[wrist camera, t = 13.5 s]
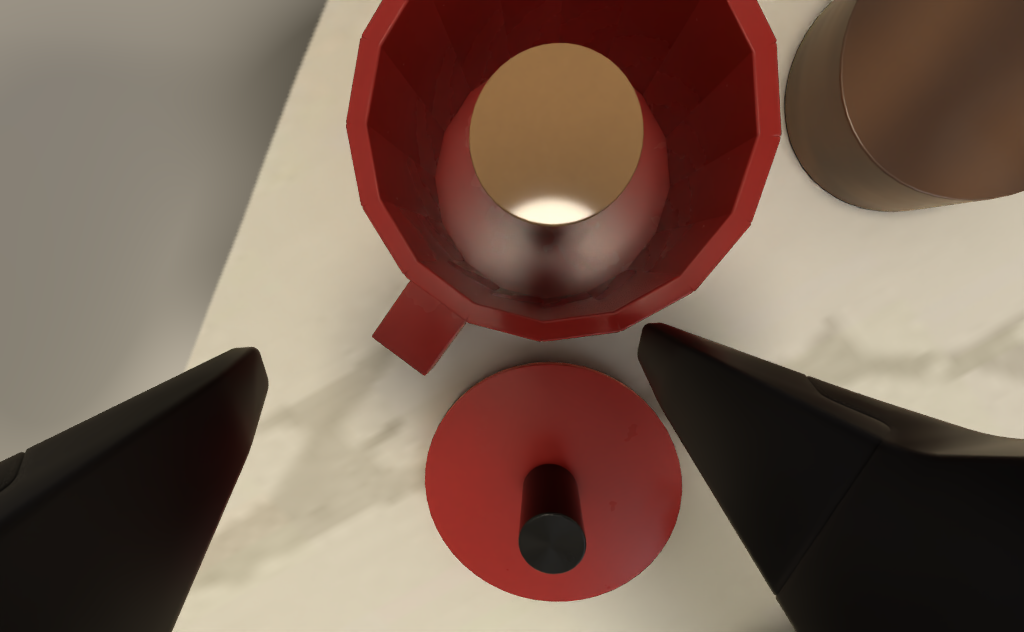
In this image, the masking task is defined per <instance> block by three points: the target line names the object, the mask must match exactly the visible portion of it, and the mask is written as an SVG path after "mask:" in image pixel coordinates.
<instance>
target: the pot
mask: <svg viewBox="0 0 1024 632" xmlns="http://www.w3.org/2000/svg"><path fill="white" fill-rule="evenodd" d="M550 43H570V44H576V45H580V46H584V47H587V48H590V49H592V50H594V51H596V52H598V53H600V54H602V55H603V56H605V57H606V58H608V59H609V60H611V61H612V62H613V63H614V64H615V65H616V66H617V67H619V69H620V70H621V71H622V72H623V73H624V74H625V76H626V77H627V78H628V80H629V82H630V83H631V85H632V86H633V88H634V90H635V93H636V95H637V97H638V100H639V103H640V106H641V110H642V116H643V122H644V139H643V148H642V152H641V157H640V160H639V163H638V166H637V169H636V171H635V173H634V175H633V177H632V179H631V181H630V182H629V184H628V185H627V187H626V188H625V190H624V191H623V192H622V193H621V195H620V196H619V197H618V198H617V199H616V200H615V201H614V202H613V203H612V204H611V205H610V206H609V207H607V208H606V209H605V210H604V211H602V212H601V213H600V214H598V215H597V216H595V217H594V218H592V219H590V220H588V221H587V222H586V223H585V224H584V225H583V226H581V227H580V228H578V229H577V230H575V231H573V232H571V233H569V234H566V235H562V236H558V237H541V236H536V235H533V234H530V233H528V232H526V231H524V230H522V229H521V228H519V227H518V226H517V225H515V224H514V223H513V222H512V221H511V220H510V218H509V217H508V216H507V215H506V213H505V212H503V211H502V210H501V209H500V208H499V207H498V206H497V205H496V204H495V203H494V202H493V201H492V199H491V198H490V197H489V196H488V195H487V193H486V192H485V190H484V189H483V187H482V186H481V184H480V182H479V180H478V178H477V176H476V173H475V170H474V168H473V165H472V160H471V156H470V149H469V128H470V121H471V116H472V113H473V109H474V106H475V103H476V101H477V99H478V96H479V94H480V93H481V91H482V89H483V87H484V86H485V84H486V83H487V81H488V80H489V79H490V77H491V76H492V75H493V74H494V73H495V72H496V71H497V70H498V69H499V68H500V67H501V66H502V65H503V64H504V63H505V62H507V61H508V60H509V59H510V58H512V57H514V56H515V55H517V54H519V53H520V52H523V51H525V50H527V49H530V48H532V47H536V46H539V45H543V44H550ZM346 123H347V124H346V128H347V133H348V139H349V144H350V149H351V154H352V160H353V165H354V170H355V175H356V181H357V186H358V191H359V196H360V202H361V206H362V207H363V210H364V211H365V213H366V215H367V216H368V218H369V220H370V221H371V223H372V224H373V226H374V228H375V229H376V231H377V233H378V234H379V236H380V237H381V239H382V241H383V242H384V244H385V245H386V247H387V249H388V250H389V252H390V254H391V255H392V257H393V258H394V260H395V262H396V263H397V265H398V267H399V268H400V270H401V271H402V273H403V274H405V276H406V277H407V278H408V279H409V280H410V282H409V283H408V284H407V286H406V287H405V289H404V290H403V292H402V293H401V295H400V296H399V297H398V299H397V300H396V302H395V303H394V305H393V306H392V308H391V309H390V310H389V312H388V313H387V315H386V316H385V318H384V319H383V321H382V322H381V324H380V325H379V326H378V328H377V329H376V331H375V332H374V334H373V335H372V337H373V338H374V339H375V340H377V341H378V342H379V343H381V344H382V345H383V346H385V347H386V348H387V349H389V350H390V351H392V352H393V353H394V354H396V355H397V356H398V357H400V358H401V359H402V360H404V361H405V362H406V363H408V364H409V365H410V366H412V367H413V368H414V369H416V370H417V371H418V372H420V373H421V374H422V375H424V376H425V375H426V374H427V373H429V372H430V371H431V370H432V369H433V367H434V366H435V365H436V363H437V362H438V361H439V359H440V358H441V356H442V355H443V354H444V352H445V351H446V350H447V348H448V347H449V346H450V344H451V343H452V342H453V340H454V339H455V337H456V336H457V335H458V333H459V332H460V331H461V329H462V328H463V327H464V325H465V324H466V322H468V323H471V324H474V325H478V326H482V327H486V328H489V329H493V330H497V331H501V332H505V333H508V334H512V335H516V336H520V337H523V338H527V339H531V340H535V341H539V342H541V341H543V342H546V341H554V340H562V339H570V338H578V337H586V336H594V335H602V334H610V333H617V332H620V331H624V330H625V329H627V328H629V327H631V326H633V325H634V324H636V323H638V322H640V321H642V320H644V319H645V318H647V317H649V316H651V315H653V314H654V313H656V312H658V311H660V310H662V309H664V308H665V307H667V306H669V305H671V304H673V303H675V302H676V301H678V300H680V299H682V298H684V297H685V296H687V295H689V294H691V293H692V292H693V291H696V289H697V288H698V287H699V286H700V285H701V283H702V282H703V281H704V280H705V279H706V278H707V276H708V275H709V274H710V273H711V272H712V270H713V269H714V268H715V267H716V266H717V264H718V263H719V262H720V261H721V260H722V259H723V257H724V256H725V255H726V254H727V253H728V251H729V250H730V249H731V248H732V247H733V245H734V244H735V243H736V242H737V241H738V240H739V238H740V237H741V236H742V235H743V234H744V232H745V231H746V230H747V229H748V228H749V226H750V225H751V222H752V220H753V217H754V214H755V211H756V208H757V206H758V203H759V200H760V197H761V194H762V191H763V188H764V185H765V182H766V179H767V176H768V174H769V171H770V168H771V165H772V162H773V159H774V156H775V153H776V150H777V147H778V144H779V142H780V137H779V136H780V135H781V118H780V99H779V79H778V60H777V44H776V38H775V36H774V34H773V32H772V30H771V28H770V26H769V24H768V22H767V20H766V18H765V16H764V14H763V12H762V10H761V8H760V6H759V4H758V2H757V0H382V2H381V3H380V5H379V7H378V8H377V10H376V12H375V14H374V15H373V17H372V19H371V20H370V22H369V24H368V25H367V27H366V29H365V30H364V32H363V34H362V38H361V39H360V44H359V50H358V56H357V62H356V67H355V73H354V79H353V85H352V91H351V97H350V102H349V108H348V114H347V120H346Z"/></svg>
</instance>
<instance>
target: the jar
mask: <svg viewBox="0 0 1024 632" xmlns="http://www.w3.org/2000/svg"><path fill="white" fill-rule="evenodd" d="M643 139H644V122H643V116H642V110H641V106H640V103H639V100H638V97H637V95H636V93H635V90H634V88H633V86H632V85H631V83H630V82H629V80H628V78H627V77H626V76H625V74H624V73H623V72H622V71H621V70H620V69H619V67H617V66H616V65H615V64H614V63H613V62H612V61H611V60H609V59H608V58H606V57H605V56H603V55H602V54H600V53H598V52H596V51H594V50H592V49H590V48H587V47H584V46H580V45H576V44H570V43H550V44H543V45H539V46H536V47H532V48H530V49H527V50H525V51H523V52H520V53H519V54H517V55H515V56H514V57H512V58H510V59H509V60H508V61H507V62H505V63H504V64H503V65H502V66H501V67H500V68H499V69H498V70H497V71H496V72H495V73H494V74H493V75H492V76H491V77H490V79H489V80H488V81H487V83H486V84H485V86H484V87H483V89H482V91H481V93H480V94H479V96H478V99H477V101H476V103H475V106H474V109H473V113H472V116H471V121H470V128H469V149H470V156H471V160H472V165H473V168H474V170H475V173H476V176H477V178H478V180H479V182H480V184H481V186H482V187H483V189H484V190H485V192H486V193H487V195H488V196H489V197H490V198H491V199H492V201H493V202H494V203H495V204H496V205H497V206H498V207H499V208H500V209H501V210H502V211H503V212H505V213H506V215H507V216H508V217H509V218H510V220H511V221H512V222H513V223H514V224H515V225H517V226H518V227H519V228H521V229H522V230H524V231H526V232H528V233H530V234H533V235H536V236H541V237H558V236H562V235H566V234H569V233H571V232H573V231H575V230H577V229H578V228H580V227H581V226H583V225H584V224H585V223H586V222H587V221H588V220H590V219H592V218H594V217H595V216H597V215H598V214H600V213H601V212H602V211H604V210H605V209H606V208H607V207H609V206H610V205H611V204H612V203H613V202H614V201H615V200H616V199H617V198H618V197H619V196H620V195H621V193H622V192H623V191H624V190H625V188H626V187H627V185H628V184H629V182H630V181H631V179H632V177H633V175H634V173H635V171H636V169H637V166H638V163H639V160H640V157H641V152H642V148H643Z"/></svg>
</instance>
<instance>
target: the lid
mask: <svg viewBox="0 0 1024 632" xmlns="http://www.w3.org/2000/svg"><path fill="white" fill-rule="evenodd" d="M425 487H426V496H427V501H428V505H429V509H430V513H431V516H432V518H433V521H434V523H435V526H436V528H437V530H438V532H439V534H440V535H441V537H442V539H443V541H444V542H445V544H446V545H447V546H448V548H449V549H450V550H451V552H452V553H453V554H454V555H455V556H456V557H457V558H458V559H459V561H460V562H461V563H462V564H463V565H464V566H466V567H467V568H468V569H469V570H470V571H472V572H473V573H474V574H475V575H477V576H478V577H480V578H481V579H483V580H484V581H486V582H487V583H489V584H491V585H493V586H495V587H497V588H499V589H501V590H503V591H506V592H509V593H511V594H514V595H517V596H521V597H525V598H529V599H533V600H542V601H574V600H582V599H586V598H591V597H595V596H598V595H601V594H604V593H606V592H609V591H612V590H614V589H616V588H618V587H620V586H622V585H623V584H625V583H627V582H629V581H630V580H631V579H633V578H634V577H636V576H637V575H639V574H640V573H641V572H642V571H643V570H644V569H645V568H646V567H648V566H649V565H650V564H651V563H652V562H653V560H654V559H655V558H656V557H657V556H658V554H659V553H660V552H661V551H662V549H663V547H664V546H665V544H666V543H667V541H668V539H669V538H670V535H671V533H672V531H673V529H674V526H675V524H676V521H677V517H678V513H679V510H680V504H681V496H682V476H681V470H680V464H679V459H678V456H677V453H676V450H675V447H674V444H673V442H672V440H671V438H670V436H669V434H668V431H667V429H666V428H665V426H664V425H663V423H662V422H661V420H660V419H659V418H658V416H657V415H656V413H655V412H654V411H653V410H652V409H651V408H650V406H649V405H648V404H647V403H646V402H645V401H644V400H643V399H642V398H641V397H640V396H639V395H637V394H636V393H635V392H634V391H633V390H632V389H630V388H629V387H627V386H626V385H624V384H623V383H621V382H620V381H618V380H616V379H614V378H612V377H610V376H608V375H606V374H604V373H602V372H600V371H597V370H594V369H591V368H588V367H585V366H580V365H575V364H570V363H560V362H538V363H529V364H524V365H518V366H514V367H511V368H508V369H505V370H502V371H499V372H497V373H495V374H493V375H491V376H489V377H487V378H485V379H483V380H482V381H480V382H479V383H477V384H476V385H474V386H473V387H471V388H470V389H469V390H468V391H467V392H465V393H464V394H463V395H462V396H461V397H460V398H459V399H458V400H457V401H456V402H455V403H454V404H453V406H452V407H451V408H450V409H449V410H448V412H447V414H446V415H445V417H444V418H443V420H442V421H441V423H440V424H439V426H438V428H437V430H436V432H435V435H434V437H433V439H432V442H431V445H430V448H429V452H428V456H427V462H426V468H425Z"/></svg>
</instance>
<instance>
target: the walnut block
mask: <svg viewBox="0 0 1024 632" xmlns="http://www.w3.org/2000/svg"><path fill="white" fill-rule="evenodd" d="M785 115H786V123H787V130H788V133H789V137H790V141H791V144H792V146H793V149H794V151H795V153H796V156H797V158H798V159H799V161H800V163H801V164H802V166H803V168H804V169H805V170H806V171H807V173H808V174H809V175H810V176H811V177H812V179H813V180H814V181H815V182H816V183H818V184H819V185H820V186H821V187H822V188H823V189H824V190H826V191H827V192H829V193H830V194H832V195H833V196H835V197H836V198H839V199H841V200H843V201H845V202H847V203H849V204H852V205H855V206H858V207H861V208H865V209H871V210H877V211H892V212H897V211H909V210H917V209H924V208H931V207H938V206H946V205H953V204H960V203H967V202H974V201H981V200H989V199H994V198H999V197H1004V196H1009V195H1013V194H1016V193H1019V192H1022V191H1024V0H833V1H832V2H831V3H830V4H829V5H828V6H827V7H826V9H825V10H824V11H823V12H822V13H821V14H820V15H819V16H818V18H817V19H816V20H815V22H814V23H813V25H812V26H811V28H810V29H809V30H808V32H807V34H806V35H805V37H804V39H803V41H802V43H801V45H800V46H799V49H798V51H797V53H796V56H795V58H794V61H793V63H792V67H791V70H790V74H789V78H788V82H787V89H786V96H785Z"/></svg>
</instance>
